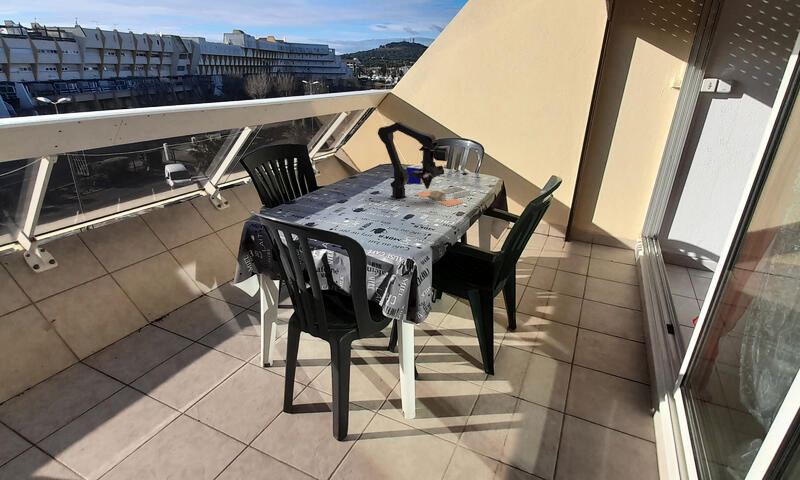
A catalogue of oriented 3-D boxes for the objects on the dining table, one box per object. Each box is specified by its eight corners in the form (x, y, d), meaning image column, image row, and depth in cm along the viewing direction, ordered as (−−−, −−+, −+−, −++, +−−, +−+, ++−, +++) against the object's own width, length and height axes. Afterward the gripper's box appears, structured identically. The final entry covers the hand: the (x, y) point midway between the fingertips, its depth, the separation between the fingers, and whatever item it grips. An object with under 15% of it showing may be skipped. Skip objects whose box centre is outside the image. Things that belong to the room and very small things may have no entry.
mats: (448, 206, 205) (448, 206, 205) (414, 194, 227) (414, 193, 227) (465, 202, 211) (465, 202, 211) (430, 190, 233) (430, 190, 233)
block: (436, 201, 215) (436, 194, 213) (430, 198, 219) (430, 191, 218) (445, 199, 218) (445, 192, 216) (438, 196, 222) (438, 190, 221)
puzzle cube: (406, 182, 252) (406, 167, 248) (413, 179, 260) (413, 164, 256) (420, 184, 248) (420, 168, 244) (427, 181, 256) (427, 165, 252)
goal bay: (454, 198, 218) (454, 193, 217) (441, 194, 227) (441, 189, 226) (469, 195, 225) (470, 190, 224) (456, 191, 233) (456, 186, 232)
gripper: (423, 164, 195) (423, 194, 201) (451, 160, 205) (450, 189, 211) (410, 160, 203) (409, 190, 209) (437, 156, 213) (436, 185, 219)
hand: (427, 188), depth 212 cm, fingers closed
